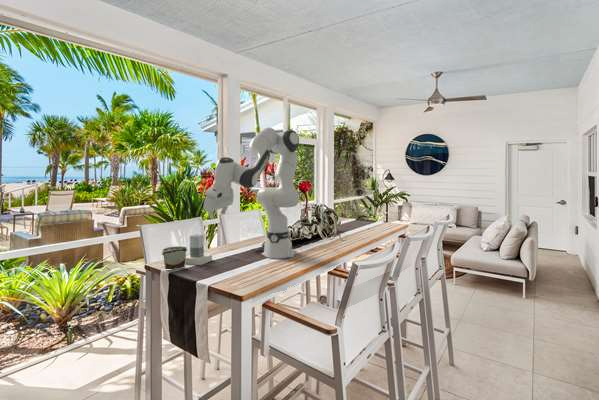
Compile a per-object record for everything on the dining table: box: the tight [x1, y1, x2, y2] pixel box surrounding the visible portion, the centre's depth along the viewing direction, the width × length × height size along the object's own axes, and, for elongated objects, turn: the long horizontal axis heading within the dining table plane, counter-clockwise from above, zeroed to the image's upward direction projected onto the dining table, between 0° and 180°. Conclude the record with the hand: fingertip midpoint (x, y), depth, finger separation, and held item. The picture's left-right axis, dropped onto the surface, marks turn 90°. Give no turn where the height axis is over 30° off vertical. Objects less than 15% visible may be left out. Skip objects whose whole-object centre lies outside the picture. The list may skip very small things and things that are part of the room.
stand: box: [185, 253, 213, 266], centre depth 184 cm, size 11×11×3 cm
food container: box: [161, 246, 188, 270], centre depth 172 cm, size 12×6×10 cm, turn 135°
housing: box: [189, 234, 205, 258], centre depth 184 cm, size 5×5×11 cm
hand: (217, 216), depth 176 cm, fingers open, 8 cm apart
